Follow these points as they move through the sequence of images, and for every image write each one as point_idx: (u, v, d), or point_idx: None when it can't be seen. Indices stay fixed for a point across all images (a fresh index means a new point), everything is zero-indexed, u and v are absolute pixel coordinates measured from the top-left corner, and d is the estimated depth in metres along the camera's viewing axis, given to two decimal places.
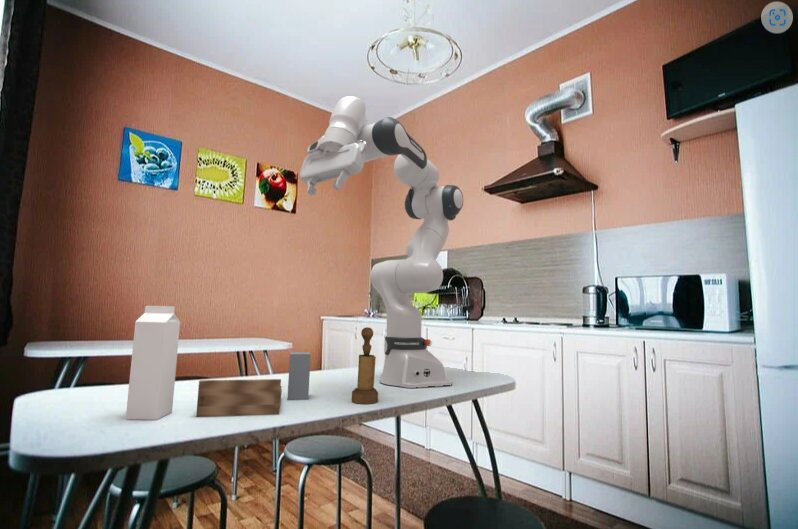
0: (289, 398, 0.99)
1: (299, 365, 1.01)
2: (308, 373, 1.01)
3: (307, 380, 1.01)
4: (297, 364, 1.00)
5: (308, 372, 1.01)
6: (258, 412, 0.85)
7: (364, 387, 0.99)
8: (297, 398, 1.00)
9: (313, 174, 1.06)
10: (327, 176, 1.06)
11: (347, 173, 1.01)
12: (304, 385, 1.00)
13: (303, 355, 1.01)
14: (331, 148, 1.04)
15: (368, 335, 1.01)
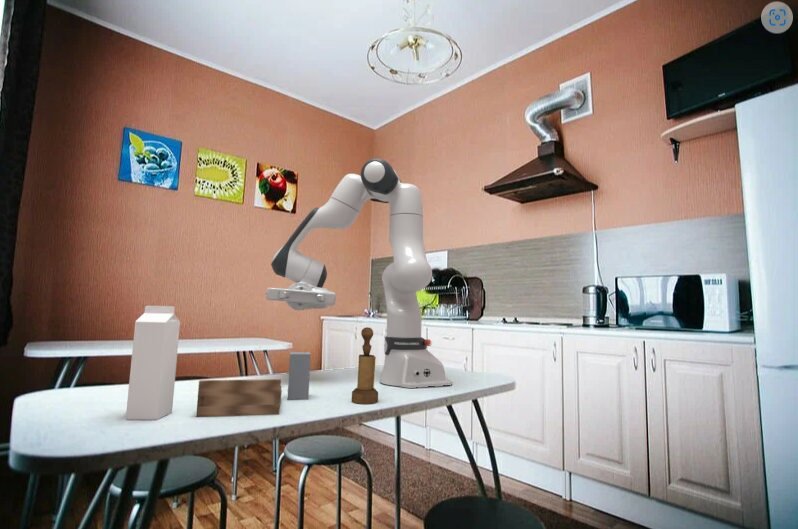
0: (289, 398, 0.99)
1: (299, 365, 1.00)
2: (308, 373, 1.01)
3: (307, 380, 1.01)
4: (297, 364, 1.00)
5: (308, 372, 1.01)
6: (258, 412, 0.85)
7: (364, 387, 0.99)
8: (297, 398, 1.00)
9: (315, 303, 1.21)
10: (307, 294, 1.21)
11: (279, 293, 1.18)
12: (304, 385, 1.00)
13: (303, 355, 1.01)
14: (295, 305, 1.25)
15: (368, 335, 1.01)
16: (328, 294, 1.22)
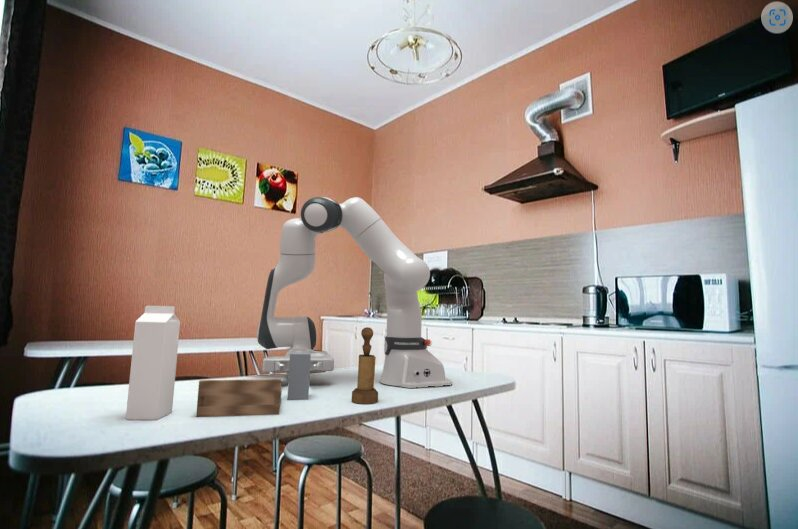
0: (289, 398, 0.99)
1: (299, 365, 1.00)
2: (308, 373, 1.01)
3: (307, 380, 1.01)
4: (297, 364, 1.00)
5: (308, 372, 1.01)
6: (258, 412, 0.85)
7: (364, 387, 0.99)
8: (297, 398, 1.00)
9: (312, 371, 1.18)
10: None
11: (275, 364, 1.15)
12: (304, 385, 1.00)
13: (303, 355, 1.01)
14: None
15: (368, 335, 1.01)
16: (326, 361, 1.19)
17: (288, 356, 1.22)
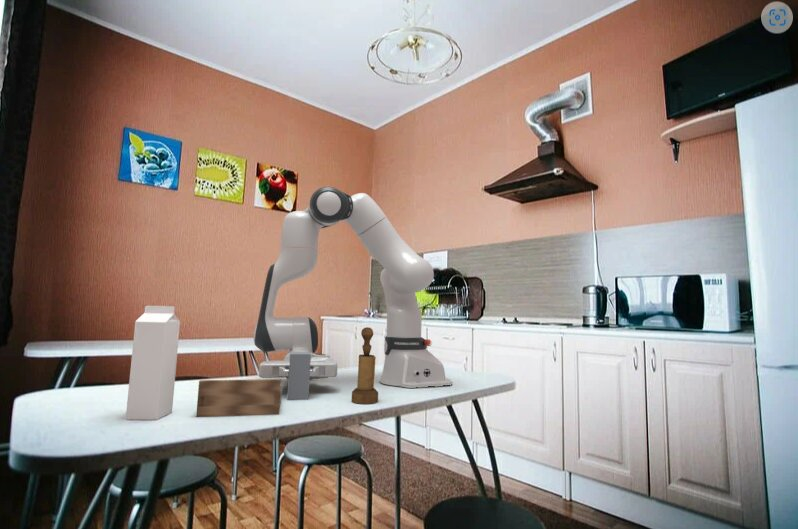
0: (289, 398, 0.99)
1: (299, 365, 1.00)
2: (308, 373, 1.01)
3: (307, 380, 1.01)
4: (297, 364, 1.00)
5: (308, 372, 1.01)
6: (258, 412, 0.85)
7: (364, 387, 0.99)
8: (297, 398, 1.00)
9: (314, 376, 1.07)
10: None
11: (279, 370, 1.05)
12: (304, 385, 1.00)
13: (303, 355, 1.01)
14: None
15: (369, 335, 1.01)
16: (328, 366, 1.08)
17: (287, 360, 1.12)
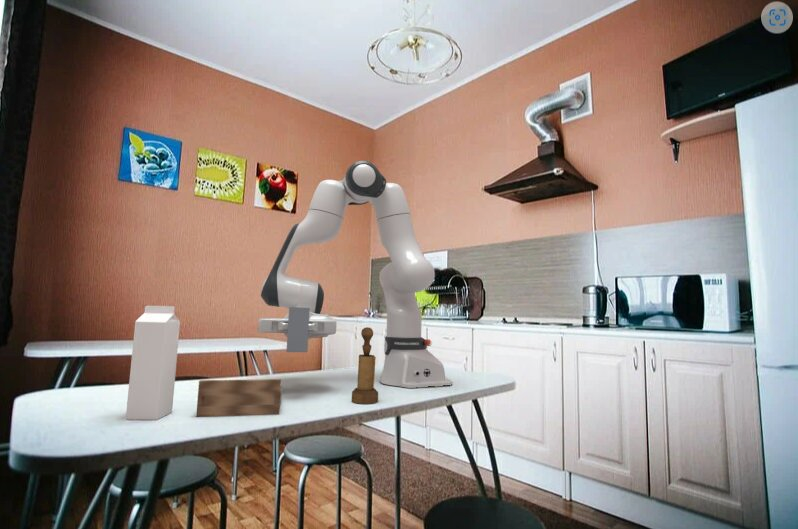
0: (288, 350, 1.00)
1: (298, 318, 1.01)
2: (307, 326, 1.01)
3: (306, 333, 1.01)
4: (296, 317, 1.01)
5: (307, 325, 1.01)
6: (258, 412, 0.85)
7: (364, 387, 0.99)
8: (296, 350, 1.00)
9: (313, 332, 1.08)
10: None
11: (278, 324, 1.05)
12: (303, 338, 1.01)
13: (302, 308, 1.02)
14: None
15: (368, 335, 1.01)
16: (327, 322, 1.09)
17: (286, 318, 1.13)
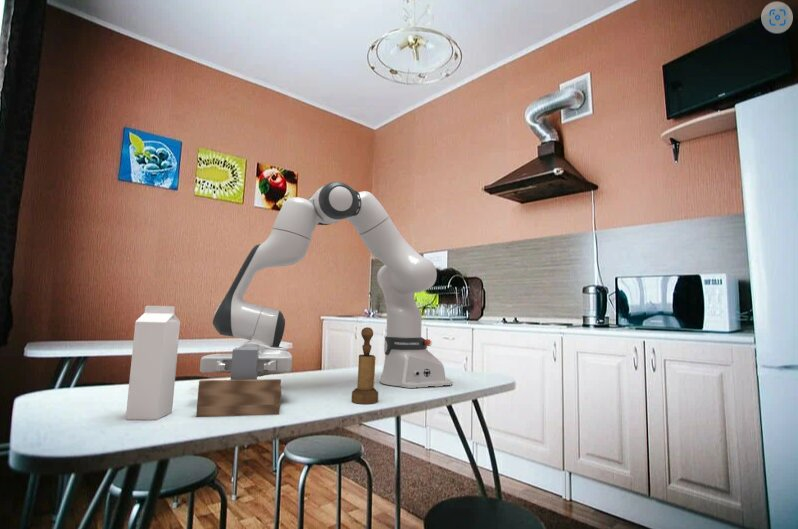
0: None
1: (243, 362, 0.88)
2: (254, 371, 0.88)
3: (252, 379, 0.88)
4: (241, 361, 0.88)
5: (254, 370, 0.88)
6: (258, 412, 0.85)
7: (364, 387, 0.99)
8: None
9: (264, 371, 0.95)
10: None
11: None
12: None
13: (248, 351, 0.88)
14: None
15: (368, 335, 1.01)
16: (281, 359, 0.96)
17: None
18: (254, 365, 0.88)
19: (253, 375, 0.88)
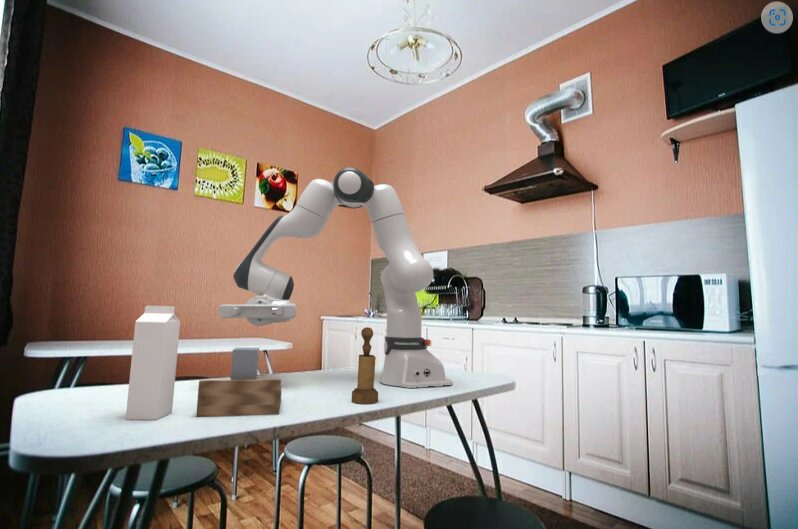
0: None
1: (243, 362, 0.88)
2: (254, 371, 0.88)
3: (252, 379, 0.88)
4: (241, 361, 0.88)
5: (254, 370, 0.88)
6: (258, 412, 0.85)
7: (364, 387, 0.99)
8: None
9: (273, 317, 1.12)
10: (263, 308, 1.12)
11: None
12: None
13: (248, 351, 0.88)
14: (254, 320, 1.17)
15: (368, 335, 1.01)
16: (287, 306, 1.13)
17: None
18: (254, 365, 0.88)
19: (253, 375, 0.88)
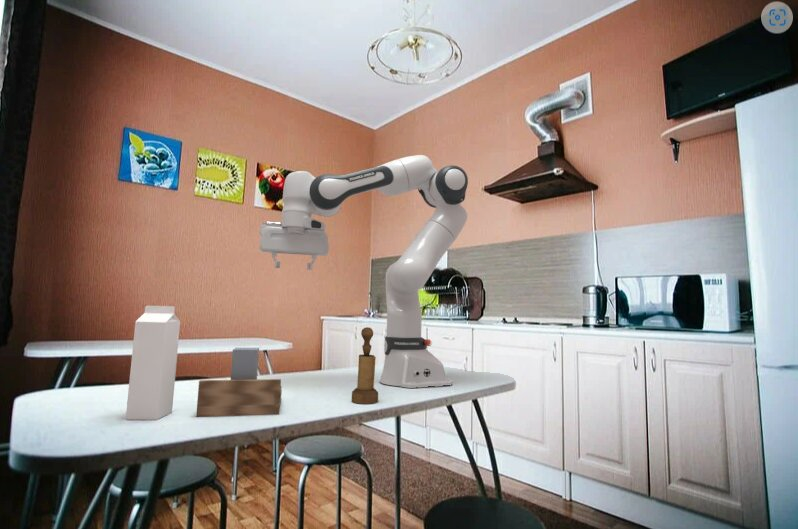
0: None
1: (243, 362, 0.88)
2: (254, 371, 0.88)
3: (252, 379, 0.88)
4: (241, 361, 0.88)
5: (254, 370, 0.88)
6: (258, 412, 0.85)
7: (364, 387, 0.99)
8: None
9: None
10: None
11: None
12: None
13: (248, 351, 0.88)
14: None
15: (368, 335, 1.01)
16: (320, 254, 1.24)
17: (285, 230, 1.21)
18: (254, 365, 0.88)
19: (253, 375, 0.88)
